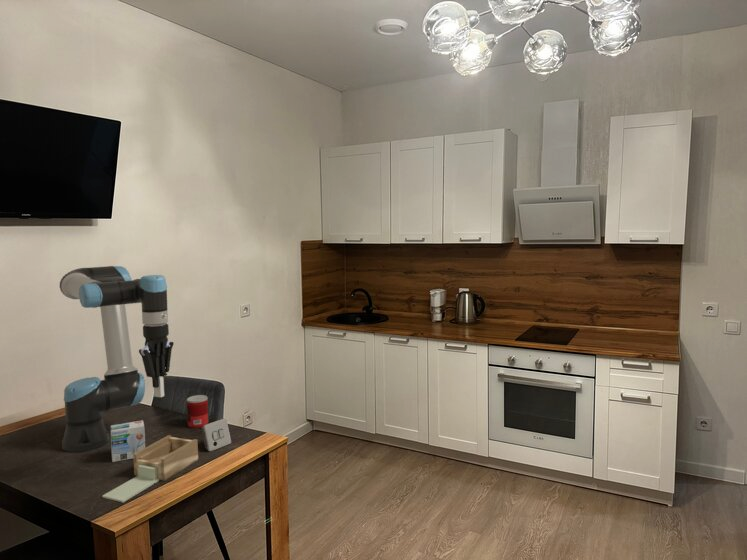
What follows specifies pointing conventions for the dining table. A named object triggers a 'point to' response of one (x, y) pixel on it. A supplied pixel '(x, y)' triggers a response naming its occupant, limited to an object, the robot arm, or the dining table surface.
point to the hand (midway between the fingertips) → (159, 396)
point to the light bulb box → (127, 440)
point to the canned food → (197, 411)
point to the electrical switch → (216, 434)
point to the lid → (134, 484)
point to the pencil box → (167, 456)
